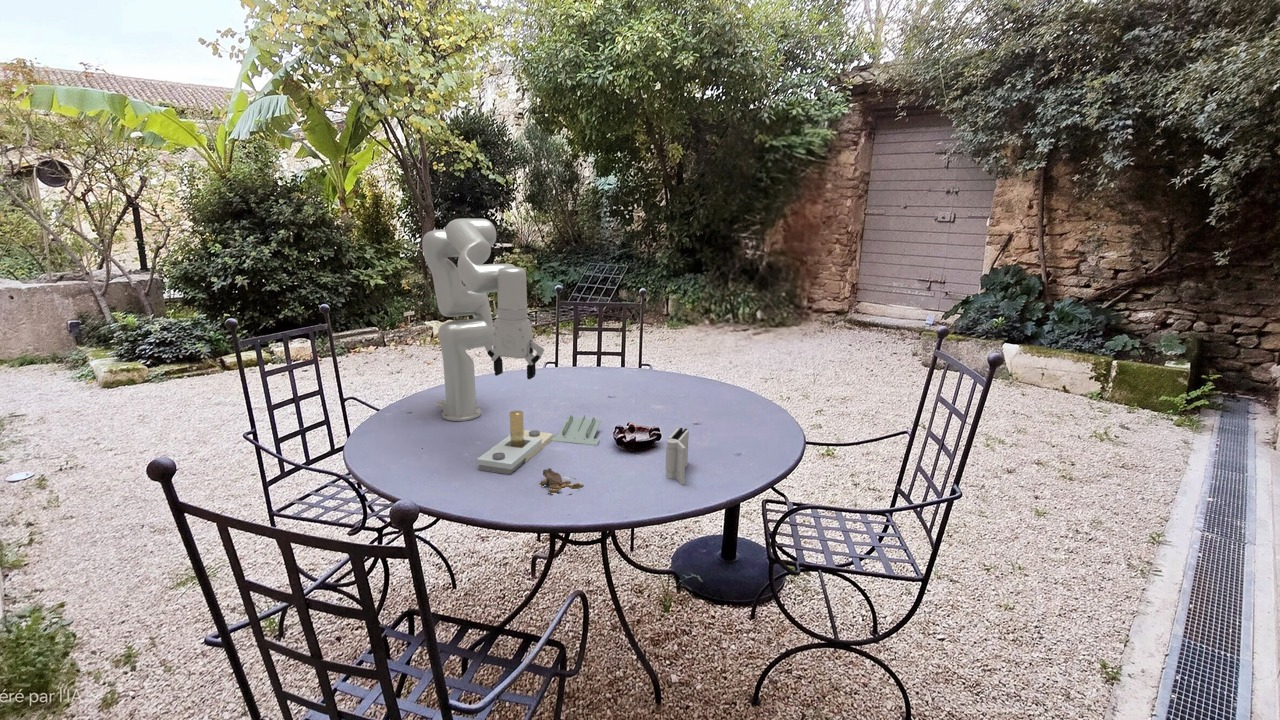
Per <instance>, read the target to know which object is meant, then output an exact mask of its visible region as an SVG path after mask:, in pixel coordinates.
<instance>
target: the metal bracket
mask: <svg viewBox="0 0 1280 720" xmlns="http://www.w3.org/2000/svg"><path fill="white" fill-rule="evenodd" d="M601 422H602V420H601V419H596V417H592V418H591V419H590V418H586V415H585V414H583V417H574V416H573V415H569V416H568V417H566V418H565V421H564V423H563V425H562V426H561V428H560V429H559V430H560V431H559V432H558V434H553V437H552V439H551V441H550V442H553V443H565V444H575V445H585V446H592V447H597V446H598V445H599V442H600V438H595V436H596V434H597V432H598V429H599V427H600V425H601ZM550 442H549V443H550Z"/></svg>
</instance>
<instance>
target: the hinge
mask: <svg viewBox="0 0 1280 720" xmlns="http://www.w3.org/2000/svg"><path fill="white" fill-rule="evenodd" d="M689 432H690V430H689V429H688V428H684V429H683V427H680V428H678V427H677V428H675V430H674V431H673V432H672V433H671V434H670V435H669V436H668V437H667V440H666V443H667V444H666V446H665V471H666V473H665V475H666V476H665V477H666V478H667V479H672V480H673V479H674V480H675V479H676V480H677V481H678V482H679V484H681V486H682V485H685V478H686V477H685V476H686V475H685V474H686V473H685V472H686V467H687V466H688V459H689V458H688V457H689V455H688V454H689V437H690V435H689Z"/></svg>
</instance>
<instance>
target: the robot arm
mask: <svg viewBox="0 0 1280 720" xmlns="http://www.w3.org/2000/svg"><path fill="white" fill-rule="evenodd" d="M496 241H497V231H496V227H495V225H494V224H493V222H491V220H489V219H486V218H466V217H465V218H455V219H453V220H451V221H449V222H448V223H447V224H446V225H445V229H434V230H430V231H427V232H426V233H425V234H424V236H423V238H422V241H421V242H422V243H421V244H422V245H421V246H422V247H421V248H422V253H423V257H424V260H425V262H426V265H427V267H428V268H429V270H430V273H431V276H432V281H433V286H434V291H435V296H436V302H437V303H436V304H437V308H438V310H439V313H440V314H441V316H443V317H446V318H448V317H449V318H451V317H463V316H472V318H470V319H469V318H468V319H456V320H451V321H447V322H444V323H442V324H441V325H440V326H439V328H438V330H437V331H438V332H437V336H438V342H439V346H440V350H441V355H442V362H443V363H442V364H443V375H444V376H443V377H444V391H445V392H444V393H445V394H444V395H445V400H444V399H439V400H438V401H437V404H436V407H437V408H439V409H442V408H443V410H442V412H441V417H442V419H444V420H447V421H452V422H463V421H465V422H466V421H470V420H474V419H476V418H478V417H480V416H481V415H482V409H481V408H480V407H478V406H477V393H476V391H477V390H476V375H475V374H476V373H475V371H476V370H475V363H474V359H473V358H472V357H471V356H470V355H469V354H468V353H467V350H471V349H477V348H485V350H486V352H487V353H486V354H487V355H488V356H489V357H490V358H491V362H493V372H494V376H496V377H497V376H499V375H501V374H503V372H504V370H503V369H504V367H503V359H502V358H510V359H511V358H513V359H524V360H525V361H526V362H527V363H528V364H527V365H526V379H527V380H531V379H533V378H535V376H536V370H537V369H536V363H538V362H539V360H540V359H542V356H543V354H544V352H545V349H544V347H542V346H541V345H539V344H537V343H535V342H534V338H533V336H534V335H533V330H532V329H533V328H532V325H531V324H532V323H531V321H530V319H529V318H528V303H527V302H528V298H527V297H528V296H527V295H528V292H527V290H528V289H527V273H526V270H525V269H524V268H523V267H519V266H516V265H514V264H511V263H488V264H487V263H486V262H487V260H488V259H489V258H490V256H491V252H492V247H493V246H494V244H495V243H496ZM449 258H458V260H457V266H456V264H455V263H454V262H453V261H451V260H450V259H449ZM484 263H485V264H484ZM463 283H464V284H463ZM488 293H497V308H494V309H493V313H494V315H495V314H497V318H495V320H494V323H493V318H492V311H491V306H490V300H489V296H488ZM534 351H536V353H535V355H534Z"/></svg>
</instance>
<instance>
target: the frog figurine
mask: <svg viewBox="0 0 1280 720" xmlns="http://www.w3.org/2000/svg"><path fill="white" fill-rule="evenodd" d="M542 476H543V477H544V480H542V481H540V483H538V486H539V485H541V486H544V485H547V483H548V485H549V484H550V485H549V486H548V487H549V489H547V488H546V489H545V488H544V490H545V491H548V492H550V493H556V492H557V493H559V492H560V491H559V490H561V489H562V488H565V487H569V488H570V489H580V488H582V489H584V488H585V485H584V484H583V483H582V481H579V482H578V483H577V482H576V483H574V484H572V483H573V482H572V481H571V480H564V481H563V479H562V476H561V474H560V473H559V472H555V471H554V470H552V468H547V469H546V468H545V469H543V470H542ZM563 478H564V479H570V478H573V479H572V480H576V478H575V477H571V476H563ZM569 484H572V485H569ZM583 487H584V488H583ZM550 488H551V489H550ZM580 490H581V489H580Z"/></svg>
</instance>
